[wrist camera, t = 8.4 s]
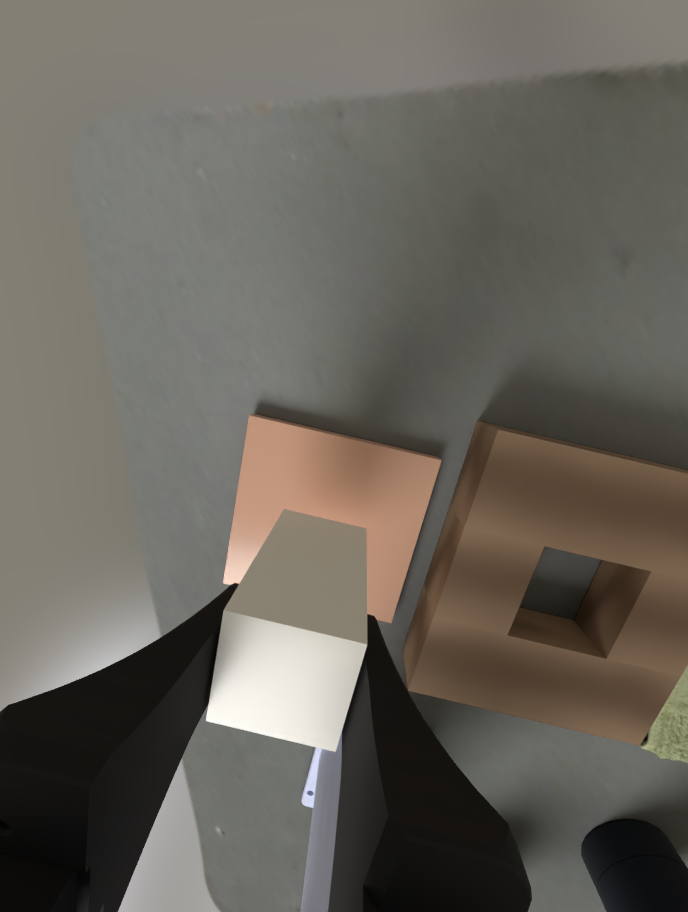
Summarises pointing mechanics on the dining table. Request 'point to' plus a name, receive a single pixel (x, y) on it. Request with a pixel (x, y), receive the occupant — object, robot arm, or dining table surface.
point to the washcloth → (671, 725)
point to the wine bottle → (636, 868)
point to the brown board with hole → (511, 568)
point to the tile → (333, 497)
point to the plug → (295, 634)
